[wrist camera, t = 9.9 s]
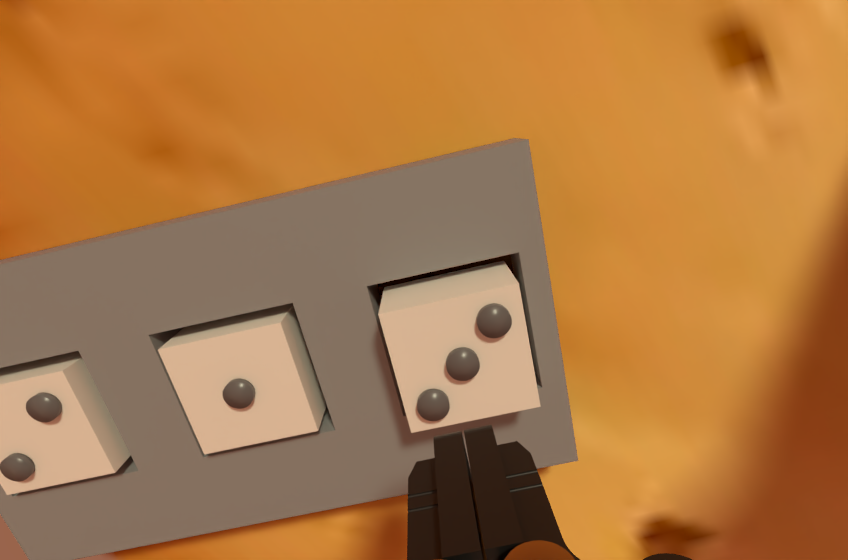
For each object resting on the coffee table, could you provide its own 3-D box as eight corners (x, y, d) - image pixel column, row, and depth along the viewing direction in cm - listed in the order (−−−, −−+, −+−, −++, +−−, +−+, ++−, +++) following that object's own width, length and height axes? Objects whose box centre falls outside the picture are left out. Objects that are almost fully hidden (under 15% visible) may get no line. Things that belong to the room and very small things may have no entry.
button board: (514, 138, 19) (528, 139, 17) (561, 426, 23) (578, 460, 21) (-73, 277, 21) (-138, 296, 18) (70, 525, 25) (34, 567, 22)
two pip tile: (109, 338, 21) (56, 374, 18) (153, 430, 23) (111, 477, 20) (8, 361, 22) (-61, 400, 19) (57, 450, 23) (0, 500, 20)
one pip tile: (299, 296, 21) (278, 325, 18) (330, 392, 22) (316, 435, 19) (192, 320, 21) (153, 353, 18) (231, 413, 23) (200, 459, 20)
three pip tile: (503, 260, 19) (520, 286, 16) (523, 368, 21) (542, 411, 17) (384, 287, 19) (377, 317, 16) (412, 391, 21) (410, 437, 18)
